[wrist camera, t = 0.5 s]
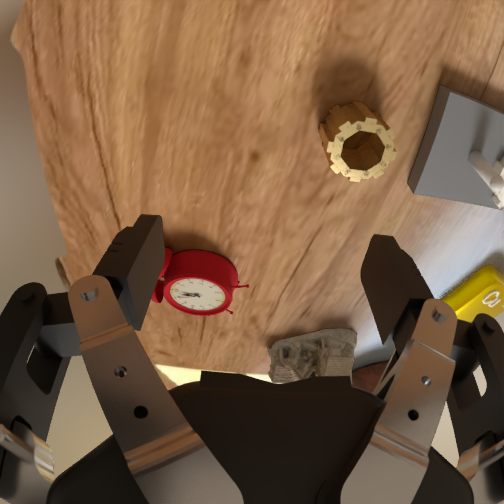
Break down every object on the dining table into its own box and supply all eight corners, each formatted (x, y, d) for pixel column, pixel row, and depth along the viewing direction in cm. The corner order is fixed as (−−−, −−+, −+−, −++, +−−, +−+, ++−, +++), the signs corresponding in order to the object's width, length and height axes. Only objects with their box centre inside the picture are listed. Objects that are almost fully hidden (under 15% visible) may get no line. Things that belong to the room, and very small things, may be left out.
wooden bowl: (354, 393, 87) (357, 422, 80) (316, 377, 73) (318, 414, 66) (427, 367, 75) (433, 399, 68) (407, 345, 61) (415, 386, 54)
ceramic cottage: (368, 333, 55) (374, 406, 45) (321, 362, 67) (321, 423, 56) (300, 314, 51) (298, 399, 41) (260, 348, 63) (254, 416, 53)
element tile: (428, 307, 50) (435, 329, 47) (487, 260, 40) (498, 282, 37) (462, 320, 55) (468, 338, 51) (512, 281, 45) (521, 299, 41)
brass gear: (324, 96, 24) (334, 112, 21) (388, 108, 24) (405, 125, 21) (314, 155, 28) (321, 178, 26) (373, 163, 29) (385, 185, 26)
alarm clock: (232, 322, 45) (130, 321, 39) (226, 288, 49) (131, 284, 43) (256, 284, 38) (131, 278, 32) (246, 245, 42) (134, 236, 36)
